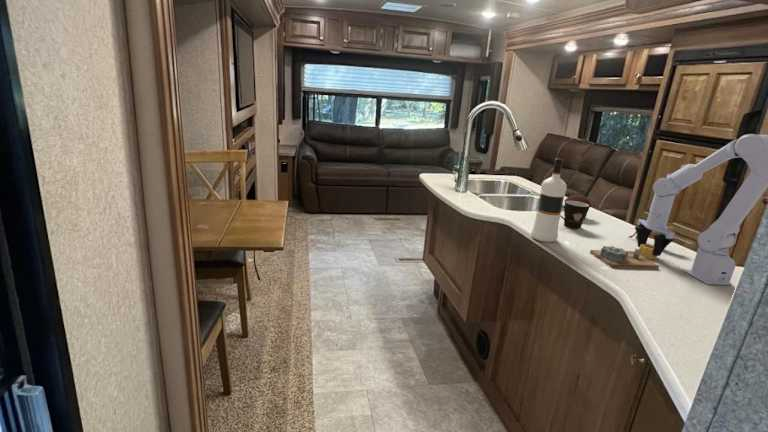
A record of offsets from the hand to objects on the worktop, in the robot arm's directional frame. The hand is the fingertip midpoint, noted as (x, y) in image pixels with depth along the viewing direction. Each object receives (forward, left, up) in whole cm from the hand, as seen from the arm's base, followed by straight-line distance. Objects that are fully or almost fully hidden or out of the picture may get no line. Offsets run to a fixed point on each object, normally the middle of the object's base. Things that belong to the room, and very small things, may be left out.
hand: (648, 251), depth 140 cm
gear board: (-5, +12, -2) cm, 14 cm away
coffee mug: (+31, +12, -2) cm, 33 cm away
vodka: (+14, +31, -2) cm, 34 cm away
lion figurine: (+11, -10, -2) cm, 15 cm away
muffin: (+45, +1, -2) cm, 45 cm away
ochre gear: (0, 0, -2) cm, 2 cm away
